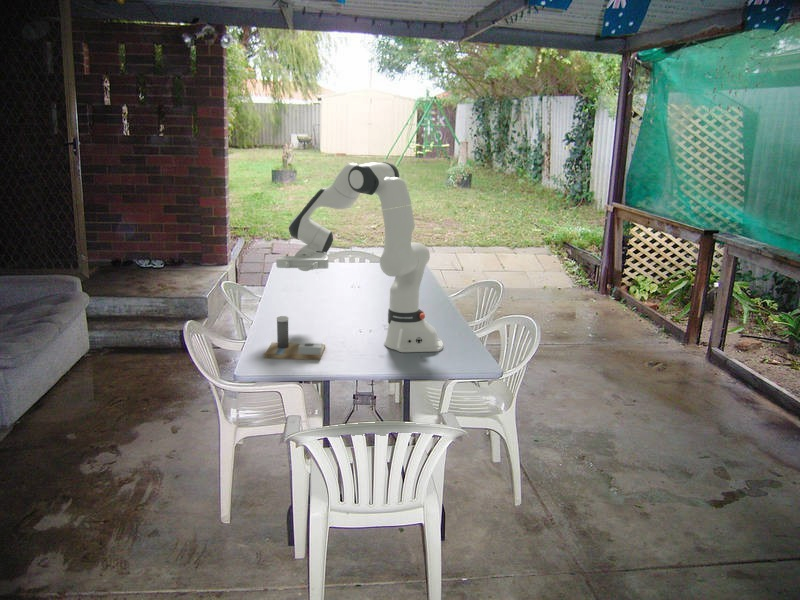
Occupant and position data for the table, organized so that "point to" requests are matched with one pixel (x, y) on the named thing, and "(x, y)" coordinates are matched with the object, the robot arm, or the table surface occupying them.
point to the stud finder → (310, 349)
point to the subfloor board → (289, 352)
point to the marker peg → (282, 332)
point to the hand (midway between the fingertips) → (299, 266)
